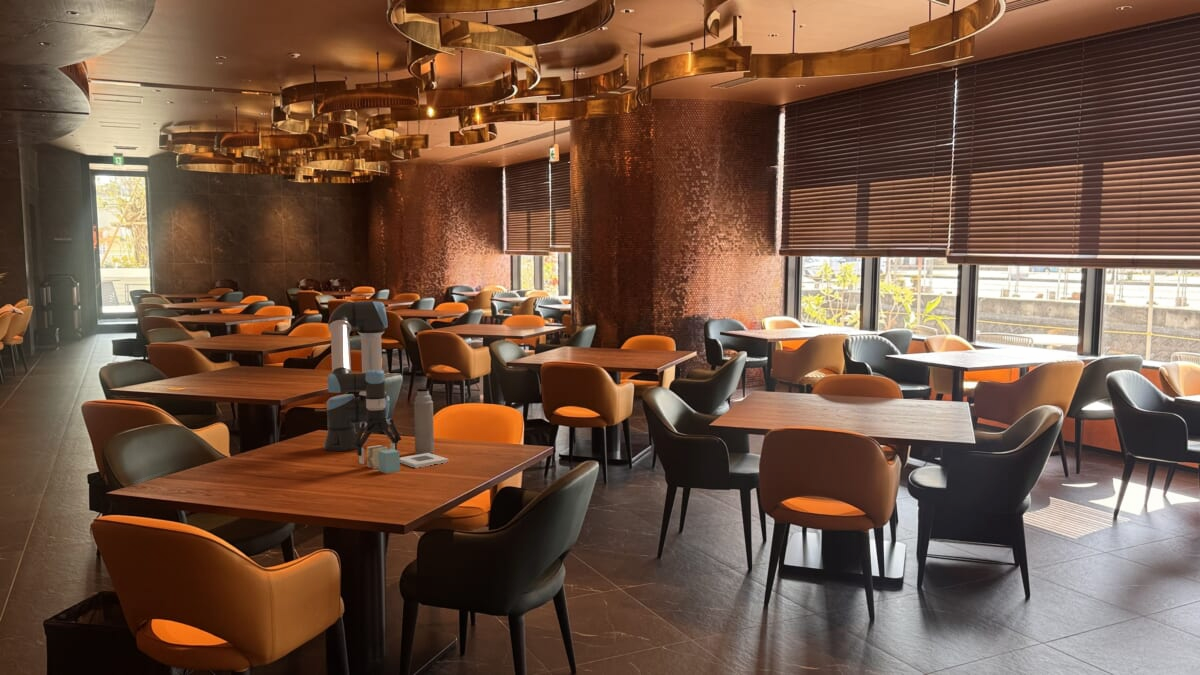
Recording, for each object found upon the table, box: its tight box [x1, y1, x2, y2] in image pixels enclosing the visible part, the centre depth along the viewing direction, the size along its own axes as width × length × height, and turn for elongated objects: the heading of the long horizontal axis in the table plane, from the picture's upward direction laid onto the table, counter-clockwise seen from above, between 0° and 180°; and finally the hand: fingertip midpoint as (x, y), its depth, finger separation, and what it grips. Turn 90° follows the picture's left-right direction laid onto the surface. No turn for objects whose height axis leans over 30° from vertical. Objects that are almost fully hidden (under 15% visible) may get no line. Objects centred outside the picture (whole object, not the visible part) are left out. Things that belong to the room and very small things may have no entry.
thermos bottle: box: [413, 387, 435, 455], centre depth 385 cm, size 8×8×28 cm
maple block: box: [366, 444, 389, 470], centre depth 361 cm, size 6×6×8 cm
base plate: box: [400, 453, 449, 469], centre depth 369 cm, size 16×15×2 cm
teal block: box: [378, 448, 401, 474], centre depth 354 cm, size 6×6×8 cm
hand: (377, 461), depth 361 cm, fingers open, 13 cm apart
